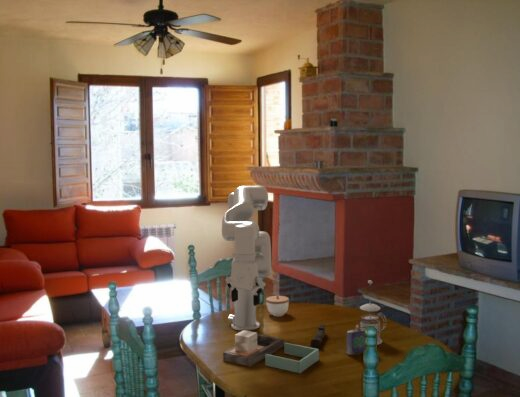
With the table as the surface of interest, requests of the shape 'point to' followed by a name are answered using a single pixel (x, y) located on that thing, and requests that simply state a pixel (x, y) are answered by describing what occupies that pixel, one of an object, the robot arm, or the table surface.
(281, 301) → the lidded jar
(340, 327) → the table surface
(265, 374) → the table surface
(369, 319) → the french press
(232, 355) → the dark brown shallow tray
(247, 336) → the cube
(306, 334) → the table surface
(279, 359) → the teal open tray
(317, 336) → the hand tool
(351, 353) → the flask
